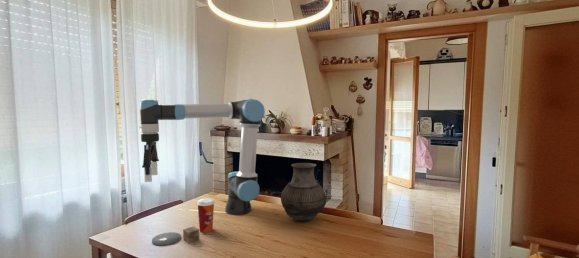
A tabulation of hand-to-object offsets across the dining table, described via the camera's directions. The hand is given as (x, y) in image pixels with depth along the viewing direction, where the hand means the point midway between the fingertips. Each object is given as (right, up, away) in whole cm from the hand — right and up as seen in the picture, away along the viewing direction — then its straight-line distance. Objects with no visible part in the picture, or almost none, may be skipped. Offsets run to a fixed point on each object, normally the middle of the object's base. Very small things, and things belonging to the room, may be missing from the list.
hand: (151, 178), depth 136 cm
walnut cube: (+20, -27, -5) cm, 34 cm away
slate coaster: (+9, -27, -5) cm, 29 cm away
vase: (+72, -26, +21) cm, 80 cm away
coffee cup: (+24, -27, +6) cm, 36 cm away
